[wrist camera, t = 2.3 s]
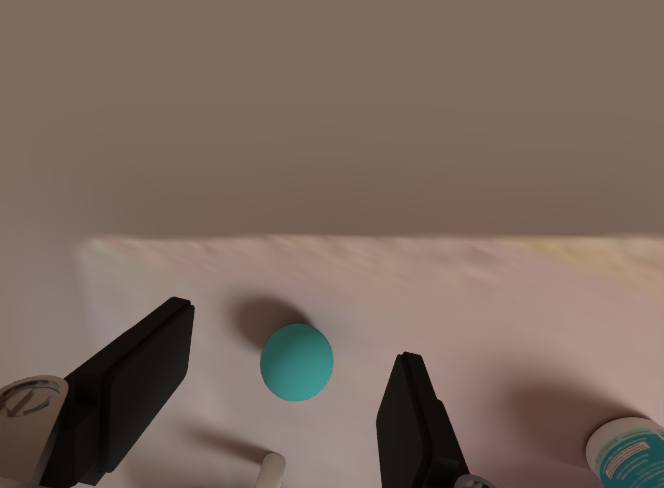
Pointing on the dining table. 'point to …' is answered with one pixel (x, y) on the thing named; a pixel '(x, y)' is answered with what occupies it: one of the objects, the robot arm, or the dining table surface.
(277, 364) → the ball
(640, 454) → the pill bottle
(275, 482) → the pin
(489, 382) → the dining table surface
